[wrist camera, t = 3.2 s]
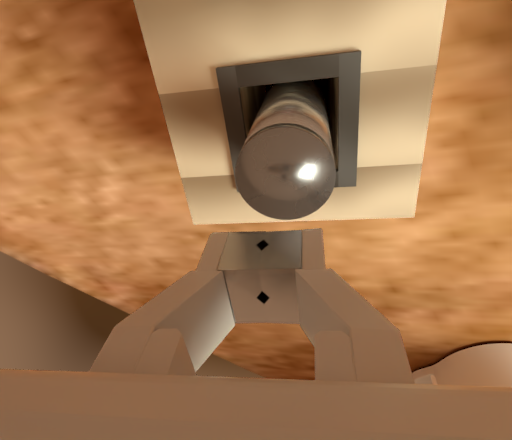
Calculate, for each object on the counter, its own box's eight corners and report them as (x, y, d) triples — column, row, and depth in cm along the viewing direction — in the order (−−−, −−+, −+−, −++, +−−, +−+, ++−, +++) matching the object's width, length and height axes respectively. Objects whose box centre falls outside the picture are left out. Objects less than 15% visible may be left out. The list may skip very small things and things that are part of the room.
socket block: (383, 153, 29) (416, 220, 20) (224, 164, 31) (191, 227, 22) (417, -260, 17) (530, -528, 8) (157, -190, 19) (36, -340, 11)
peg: (326, 136, 22) (336, 218, 14) (266, 141, 23) (242, 221, 15) (325, 72, 20) (336, 123, 12) (259, 79, 21) (227, 132, 13)
